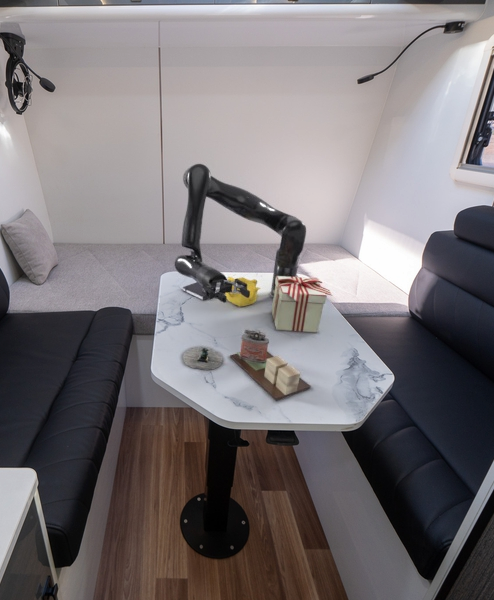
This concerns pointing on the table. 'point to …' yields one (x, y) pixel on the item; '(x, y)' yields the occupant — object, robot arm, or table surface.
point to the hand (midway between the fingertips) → (237, 297)
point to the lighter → (254, 346)
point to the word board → (264, 381)
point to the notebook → (195, 290)
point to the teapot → (238, 297)
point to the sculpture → (202, 358)
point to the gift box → (298, 303)
